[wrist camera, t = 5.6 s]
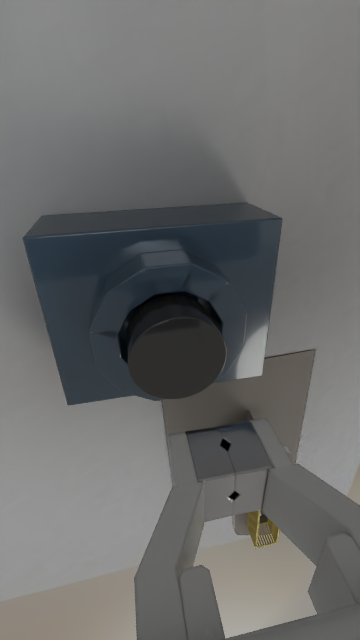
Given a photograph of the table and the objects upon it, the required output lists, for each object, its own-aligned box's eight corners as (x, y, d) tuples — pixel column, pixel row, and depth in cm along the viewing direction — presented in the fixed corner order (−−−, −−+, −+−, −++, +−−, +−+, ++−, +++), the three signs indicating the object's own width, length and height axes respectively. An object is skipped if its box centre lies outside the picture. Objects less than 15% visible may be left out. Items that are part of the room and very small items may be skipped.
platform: (176, 518, 32) (191, 600, 26) (158, 377, 23) (175, 456, 17) (290, 491, 33) (327, 563, 28) (315, 349, 24) (378, 412, 19)
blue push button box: (248, 202, 18) (304, 227, 13) (237, 338, 22) (276, 397, 17) (40, 215, 16) (9, 250, 11) (74, 359, 21) (63, 432, 15)
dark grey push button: (214, 289, 14) (230, 311, 12) (212, 364, 16) (225, 392, 14) (120, 299, 13) (122, 324, 11) (130, 376, 15) (133, 406, 13)
